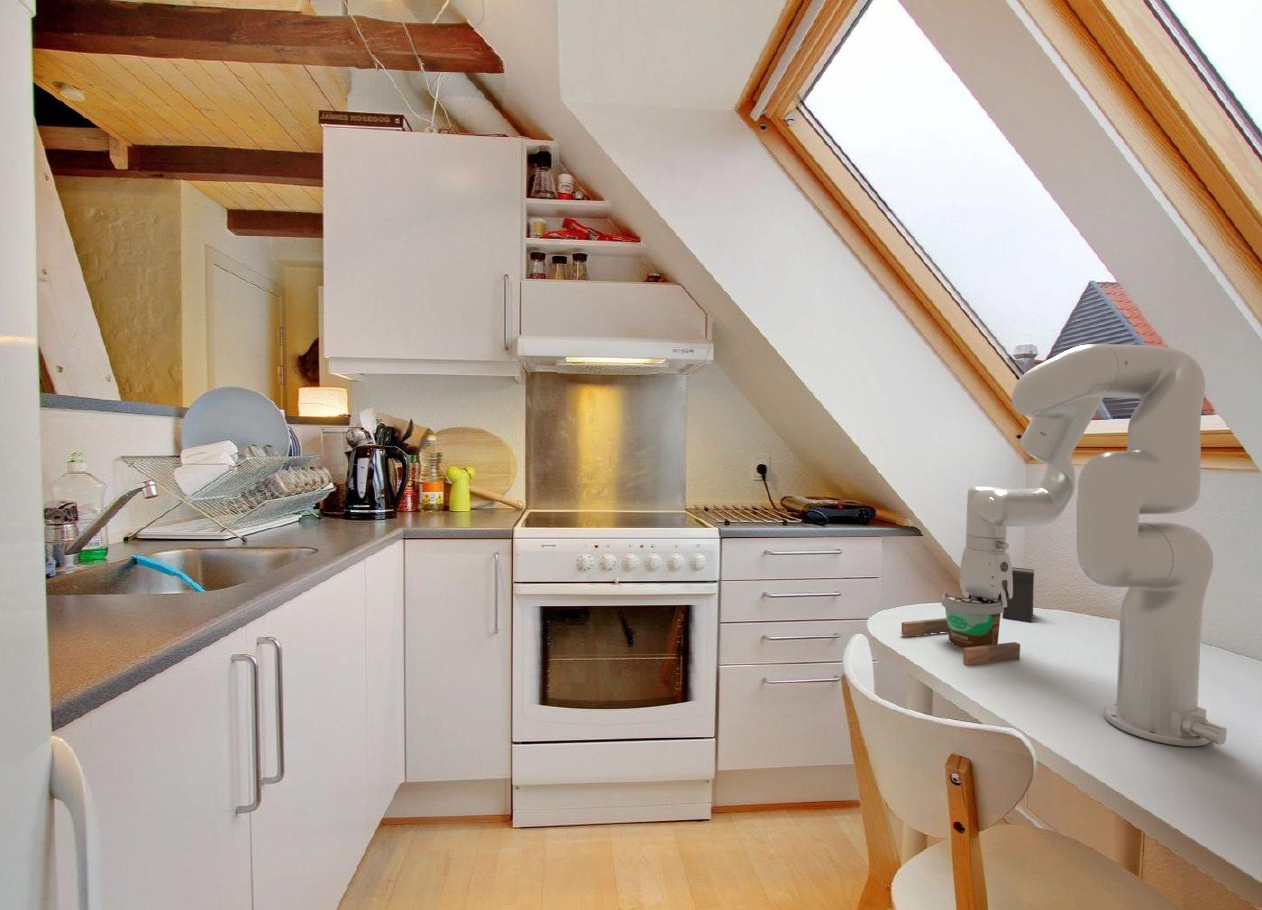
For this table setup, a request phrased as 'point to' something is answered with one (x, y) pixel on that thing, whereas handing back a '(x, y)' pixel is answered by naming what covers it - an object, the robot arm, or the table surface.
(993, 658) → the lane walls
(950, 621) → the food container
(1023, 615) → the phone stand
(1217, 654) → the table surface
